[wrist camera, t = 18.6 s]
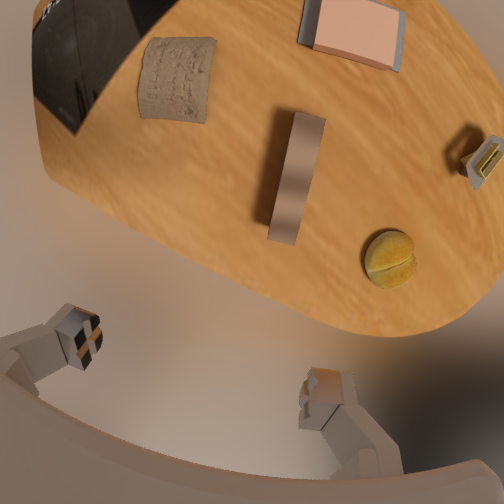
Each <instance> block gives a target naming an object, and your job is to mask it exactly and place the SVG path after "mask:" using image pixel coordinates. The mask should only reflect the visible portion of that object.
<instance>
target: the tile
mask: <svg viewBox="0 0 504 504" xmlns="http://www.w3.org/2000/svg"><path fill="white" fill-rule="evenodd" d="M398 21H399V12H398V11H396V10H393V9H391V8H388V7H385V6H383V5H380V4H377V3H374V2H371V1H368V0H321V4H320V9H319V15H318V21H317V27H316V32H315V38H314V44H313V49H312V50H316V51H320V52H324V53H328V54H332V55H336V56H340V57H344V58H347V59H351V60H354V61H357V62H360V63H364V64H367V65H370V66H373V67H376V68H379V69H381V70H384V71H386V70H388V69H390V68H392V67H393V64H394V57H395V49H396V41H397V32H398Z"/></svg>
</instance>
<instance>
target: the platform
mask: <svg viewBox="0 0 504 504" xmlns="http://www.w3.org/2000/svg"><path fill="white" fill-rule="evenodd" d="M503 156H504V139H503V138H500V137H498V136H495V135H492V134H490V135H489V136H488V137H487V138H486V140H485V141H484V142H483V143H482V145H481V146H480V147H479V148H478V150H477V151H476V152H473V153H471V154H470V155H467V156H466V157H463V158H461V159H460V160H461V162H462V163H463V165H464V166H465V168H464V169H463V170H462V172H461V173H460V175H462V176H465V177H467V178H468V179H469V183H470V185H471V187H472V188H473V189H475V190H477V189H478V188H479V187H480V186H481V184H482V183H483V182H484V181H485V180H486V178H487V177H488V176H489V175H490V173H491V172H492V171H493V170H494V168H495V167H496V166H497V164H498V163H499V162H500V160H501V159H502V158H503Z"/></svg>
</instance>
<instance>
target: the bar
mask: <svg viewBox="0 0 504 504" xmlns="http://www.w3.org/2000/svg"><path fill="white" fill-rule="evenodd" d="M325 121H326V119H324V118H321V117H317V116H313V115H309V114H305V113H301V112H295V113H294V118H293V122H292V127H291V132H290V136H289V141H288V145H287V150H286V154H285V159H284V163H283V168H282V172H281V177H280V181H279V186H278V190H277V195H276V199H275V203H274V208H273V212H272V217H271V221H270V225H269V231H268V237H267V240H272V241H276V242H281V243H285V244H290V245H295V241H296V238H297V234H298V230H299V227H300V223H301V219H302V215H303V212H304V208H305V204H306V200H307V196H308V192H309V188H310V184H311V180H312V176H313V172H314V168H315V164H316V160H317V156H318V152H319V147H320V143H321V139H322V134H323V130H324V126H325Z"/></svg>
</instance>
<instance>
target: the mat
mask: <svg viewBox="0 0 504 504" xmlns="http://www.w3.org/2000/svg"><path fill="white" fill-rule="evenodd" d="M368 1H371V2H374V3H377V4H380V5H383V6H385V7H388V8H391V9H393V10H396V11H398V12H399V21H398V32H397V41H396V49H395V57H394V64H393V67H392V68H390V69H391V70H393V71H396V72H398V73H399V71H400V64H401V57H402V48H403V40H404V30H405V18H406V13H405V12H403V11H400V10H398V9H395V8H393V7H390V6H387V5H385V4H382V3H379V2H376V1H373V0H368ZM320 4H321V0H306V1H305V7H304V12H303V17H302V23H301V28H300V33H299V38H298V43H299V44H304V45H309V46H313V44H314V38H315V32H316V27H317V21H318V15H319V9H320Z"/></svg>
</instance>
